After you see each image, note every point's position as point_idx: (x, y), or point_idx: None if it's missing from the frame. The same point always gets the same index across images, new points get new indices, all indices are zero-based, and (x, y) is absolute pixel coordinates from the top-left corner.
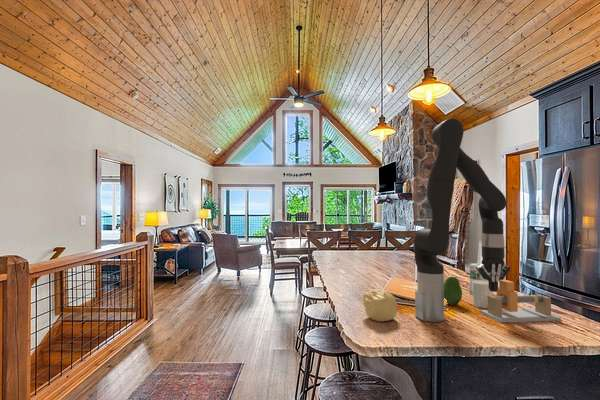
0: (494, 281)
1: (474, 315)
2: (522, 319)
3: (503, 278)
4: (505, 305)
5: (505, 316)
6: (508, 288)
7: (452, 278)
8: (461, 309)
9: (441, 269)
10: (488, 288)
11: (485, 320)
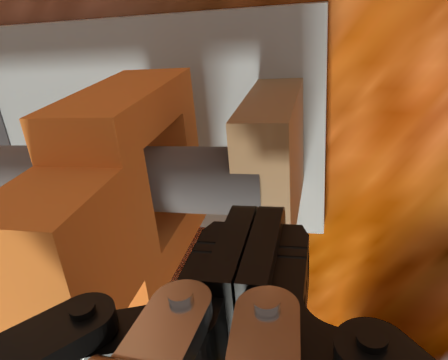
0: (224, 310)
1: (417, 176)
2: (131, 17)
3: (53, 309)
4: (176, 144)
5: (225, 82)
6: (81, 185)
7: None
8: (414, 300)
9: None
10: None
11: (419, 57)
